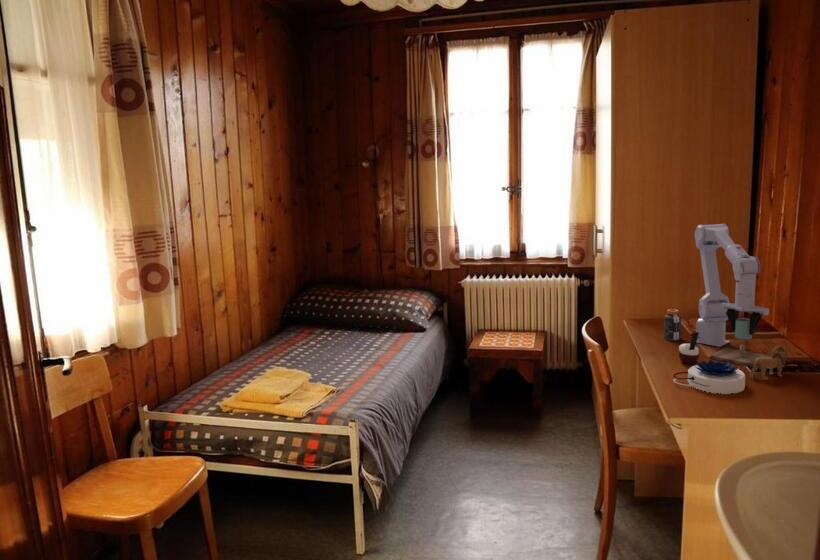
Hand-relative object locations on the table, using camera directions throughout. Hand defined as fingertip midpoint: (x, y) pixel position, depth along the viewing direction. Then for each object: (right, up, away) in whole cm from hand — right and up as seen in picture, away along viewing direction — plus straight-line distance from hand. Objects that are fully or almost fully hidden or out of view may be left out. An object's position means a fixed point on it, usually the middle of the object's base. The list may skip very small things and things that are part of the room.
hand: (743, 332), depth 206 cm
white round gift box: (-21, -15, -19) cm, 32 cm away
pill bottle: (-12, -5, +29) cm, 32 cm away
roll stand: (+1, -9, +2) cm, 9 cm away
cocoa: (-18, -11, +1) cm, 21 cm away
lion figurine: (0, -13, -15) cm, 19 cm away
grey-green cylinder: (0, -2, 0) cm, 2 cm away
